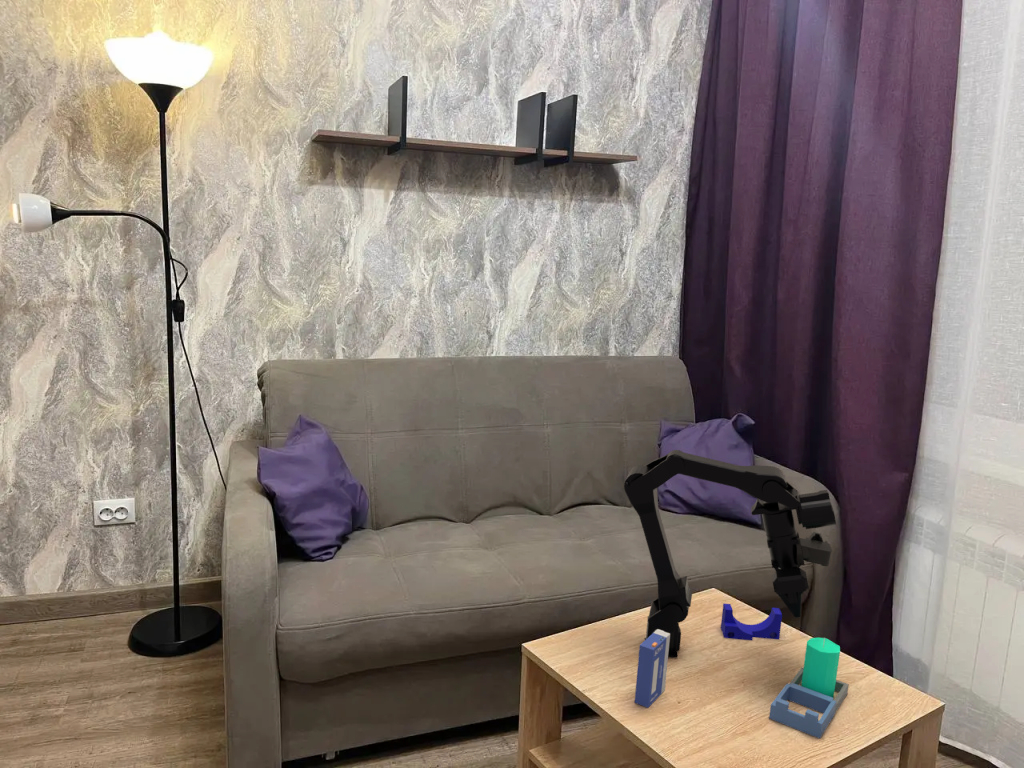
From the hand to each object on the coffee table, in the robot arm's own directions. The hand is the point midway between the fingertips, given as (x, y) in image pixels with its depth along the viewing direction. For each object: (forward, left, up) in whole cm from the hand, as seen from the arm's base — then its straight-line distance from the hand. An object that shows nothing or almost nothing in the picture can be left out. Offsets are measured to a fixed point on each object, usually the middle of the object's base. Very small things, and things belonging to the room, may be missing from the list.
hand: (796, 606), depth 161 cm
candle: (+4, -7, -14) cm, 17 cm away
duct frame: (+2, -11, -14) cm, 18 cm away
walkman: (-28, -14, -14) cm, 35 cm away
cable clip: (-5, +14, -15) cm, 21 cm away
